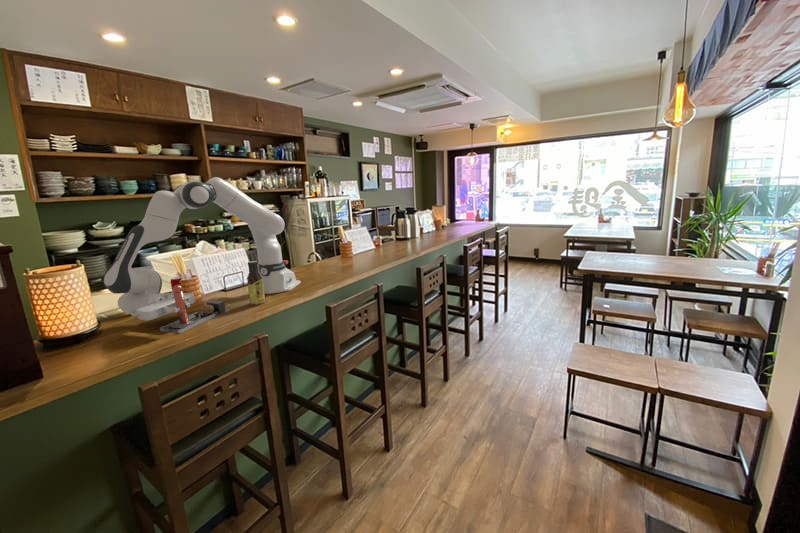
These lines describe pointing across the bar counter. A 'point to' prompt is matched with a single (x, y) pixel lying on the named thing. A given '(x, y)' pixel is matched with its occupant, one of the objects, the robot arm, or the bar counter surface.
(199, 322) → the bed
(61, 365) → the bar counter surface
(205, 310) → the walnut
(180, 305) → the lever
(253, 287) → the sauce bottle
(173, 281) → the soda can
